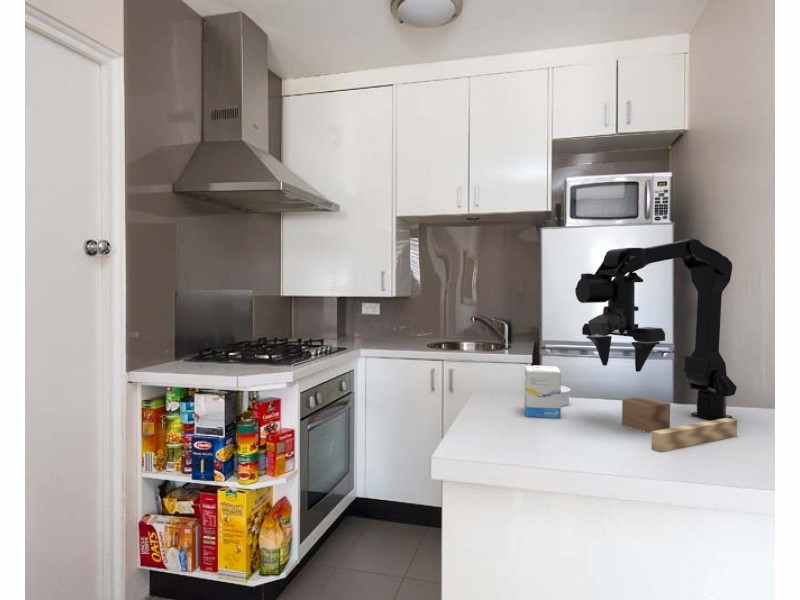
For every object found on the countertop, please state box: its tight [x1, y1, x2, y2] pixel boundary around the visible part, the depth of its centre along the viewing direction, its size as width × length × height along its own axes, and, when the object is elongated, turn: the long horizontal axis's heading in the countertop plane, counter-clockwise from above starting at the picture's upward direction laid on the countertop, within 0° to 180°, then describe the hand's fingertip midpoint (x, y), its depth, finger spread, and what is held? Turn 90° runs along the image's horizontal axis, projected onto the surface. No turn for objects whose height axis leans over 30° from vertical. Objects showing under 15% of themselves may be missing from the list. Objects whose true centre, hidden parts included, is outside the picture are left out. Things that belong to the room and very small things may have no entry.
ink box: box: [523, 364, 562, 419], centre depth 123 cm, size 9×8×12 cm
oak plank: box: [650, 418, 738, 453], centre depth 101 cm, size 24×2×4 cm, turn 114°
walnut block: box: [621, 396, 671, 434], centre depth 112 cm, size 7×7×6 cm
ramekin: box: [561, 385, 571, 407], centre depth 134 cm, size 9×9×4 cm
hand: (620, 368), depth 114 cm, fingers open, 9 cm apart
